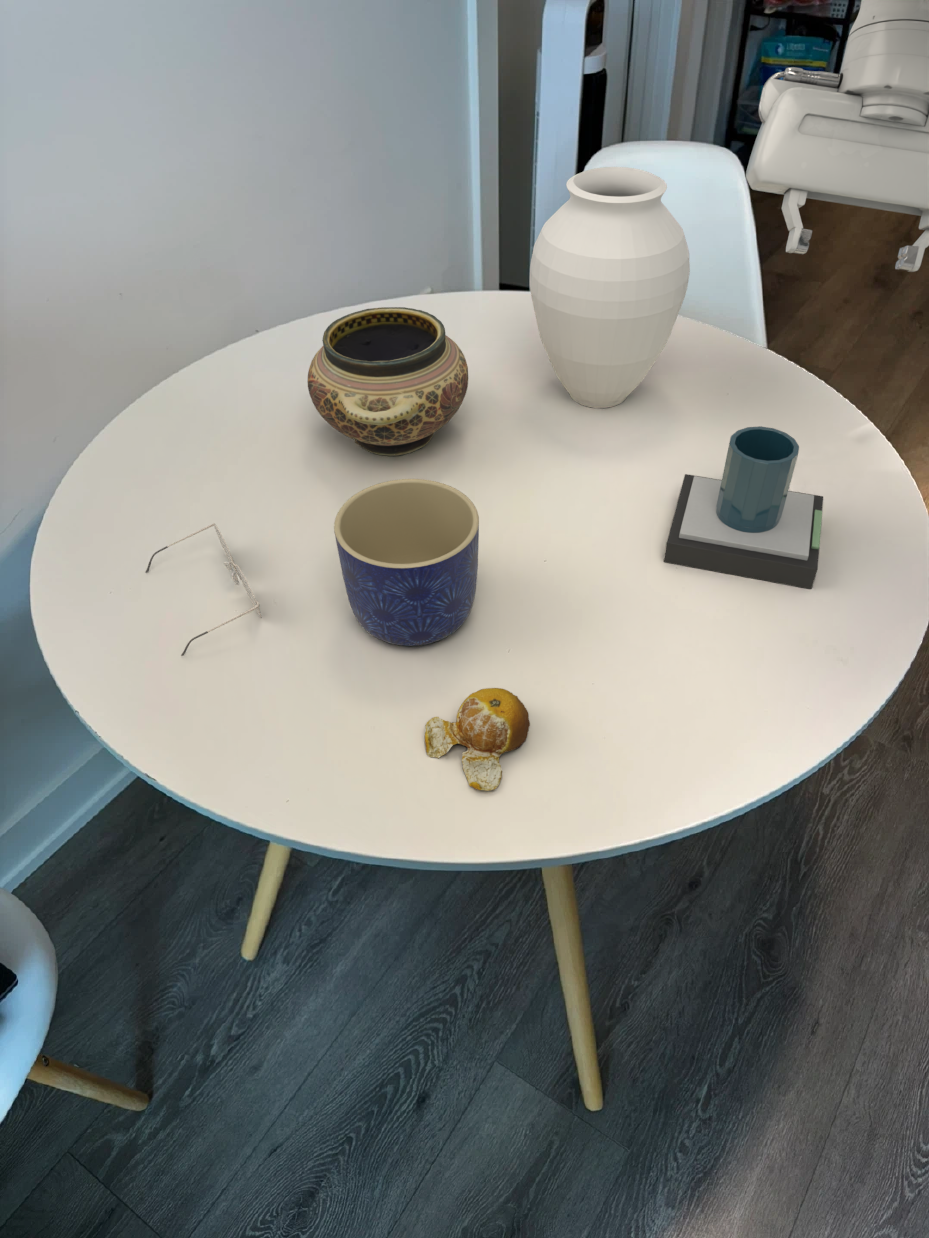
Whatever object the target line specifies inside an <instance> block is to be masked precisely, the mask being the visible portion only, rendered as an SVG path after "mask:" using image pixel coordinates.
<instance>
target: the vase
mask: <svg viewBox="0 0 929 1238" xmlns="http://www.w3.org/2000/svg"><path fill="white" fill-rule="evenodd" d="M565 183H566V184H565V186H566V189H567V190H568V193H569V198H568V200H567V201H565V202H564V203H563V204H562V205H561V206H560V207H559V208H558V209H557V210H556V211H555V212H554V213H553V214H552V215H550V217H549V218H548V219H547V220H546V221H545V222H544V224H543V226H542V228H541V229H540V231H539V234H538V236H537V237H536V240H535V242H534V245H533V249H532V254H531V257H530V258H531V259H530V264H529V265H530V266H529V291H530V295H531V301H532V306H533V310H534V316H535V320H536V321H535V322H536V326H537V330H538V333H539V337H540V340H541V343H542V345H543V347H544V350H545V353H546V355H547V357H548V360H549V362H550V365H551V366H552V368H553V370H554V373H555V376H556V377H557V379H558V380H559V382H560V383H561V385H562V387H564V389H565V390H566V392H568V393H569V396H570V398H571V399H572V400H573V401H574V402H575V403H577V404H579V405H581V406H584V407H588V408H593V409H594V408H595V409H605V408H606V409H608V408H613V407H615V406H618V405H620V404H623V402H624V401H626V399H627V397H628V396H629V395H630V394H632V393H633V392H634V391H635V390H636V389H637V387H638V386H639V385H640V384H641V383H642V382H643V380H644V379H645V378H646V376H647V374H648V373H649V371H650V370H651V369H652V367H653V366H654V364H655V363H656V361H657V359H658V358H659V357H660V354H661V353H662V351H663V350H664V348H665V347H666V345H667V344H668V341H669V338H670V336H671V333H672V331H673V329H674V326H675V323H676V321H677V318H678V316H679V313H680V311H681V309H682V305H683V303H684V300H685V298H686V295H687V291H688V287H689V280H690V273H691V268H690V267H691V265H690V264H691V263H690V262H691V261H690V249H689V246H688V243H687V238H686V236H685V232H684V229H683V227H682V225H680V223H679V222H678V221H677V219H676V218H675V217H674V215H673V214H672V213H671V212H670V210H669V209H668V208H667V206H666V205H665V204H664V203H663V202H662V197H663V195H664V194H665V192H666V191H667V188H668V185H667V183H666V181H665V180H664V179H662V177H660V176H658V175H656V174H653V173H652V172H649V171H647V170H644V169H640V168H634V167H626V166H603V167H596V168H591V169H587V170H584V171H582V172H579V173H577V174H575V175H573V176H571V177H570V178H569V179H567V181H566V182H565Z"/></svg>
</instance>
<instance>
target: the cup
mask: <svg viewBox="0 0 929 1238" xmlns="http://www.w3.org/2000/svg"><path fill="white" fill-rule="evenodd" d="M799 451H800V446H799V444H798V442H797V441H796V439H795V438H794V437H792V435H790V434H788V433H786V432H785V431H782V430H780V429H777V428H773V427H767V426H747V427H744V428H741V429H738V430H736V431H735V432H734V433H733V434H732V435H730V439H729V443H728V448H727V453H726V458H725V462H724V467H723V472H722V477H721V480H722V481H721V486H720V491H719V496H718V501H717V506H716V514H717V516H718V518H719V519H720V520H721V521H722V522H723V523H724V524H725V525H727V526H728V527H730V528H732V529H735V530H738V531H742V532H748V533H760V532H766V531H769V530H771V529H773V528H774V527H776V526H777V525H778V523H779V521H780V518H781V516H782V512H783V509H784V505H785V501H786V497H787V494H788V491H790V486H791V483H792V478H793V475H794V472H795V467H796V464H797V460H798V456H799Z"/></svg>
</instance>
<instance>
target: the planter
mask: <svg viewBox="0 0 929 1238" xmlns="http://www.w3.org/2000/svg"><path fill="white" fill-rule="evenodd" d="M333 524H334V525H333V532H334V537H335V542H336V548H337V552H338V559H339V564H340V568H341V574H342V579H343V583H344V587H345V592H346V595H347V598H348V602H349V605H350V607H351V610H352V613H353V615H354V617H355V619H356V621H357V622H358V623H359V625H360V626H361V627H362V628H363V629H364V630H365V631H366V632H368V633H369V634H370V635H371V636H373V637H374V638H377V639H379V640H380V641H383V642H386V643H389V644H392V645H398V646H405V647H406V646H410V647H412V646H414V647H415V646H423V645H428V644H432V643H436V642H438V641H440V640H443V639H446V638H447V637H449V636H450V635H452V634H453V633H455V631H457V630H458V629H459V628H460V627H461V626H463V624H464V623H465V621H466V620H467V619H468V617H469V615H470V613H471V611H472V608H473V605H474V602H475V597H476V591H477V582H478V567H479V542H480V541H479V539H480V538H479V537H480V535H479V533H480V532H479V531H480V516H479V512H478V510H477V507H476V505H475V504H474V503H473V501H472V500H471V499H470V498H469V497H468V496H467V495H466V494H465V493H463V492H462V491H460V490H459V489H457V488H456V487H453V486H452V485H449V484H446V483H443V482H440V481H436V480H435V481H434V480H430V479H423V478H402V479H401V478H400V479H393V480H388V481H383V482H380V483H376V484H374V485H373V484H372V485H371V486H368V487H366V488H364V489H362V490H360V491H358V492H357V493H355V494H354V495H352V496H351V497H350V498H348V499H346V501H345V502H344V503H343V504H342V506H341V507H340V508H339V510H338V511H337V514H336V516H335V519H334V523H333Z"/></svg>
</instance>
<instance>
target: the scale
mask: <svg viewBox="0 0 929 1238" xmlns="http://www.w3.org/2000/svg"><path fill="white" fill-rule="evenodd" d="M721 481H722V479H718V478H712V477H707V476H700V475H694V474H687V473H685V474H684V476H683V480H682V483H681V488H680V490H679V495H678V499H677V503H676V505H675V509H674V514H673V517H672V520H671V525H670V528H669V533H668V536H667V540H666V544H665V550H664V552H665V553H664V557H663V563H668V564H673V565H678V566H683V567H684V566H685V567H689V568H694V569H700V570H704V571H711V572H716V573H721V574H726V575H730V576H731V575H732V576H736V577H737V576H738V577H743V578H748V579H754V580H758V581H759V580H760V581H764V582H770V583H775V584H781V585H785V586H786V585H787V586H790V587H798V588H801V589H802V588H803V589H807V590H812V588H813V585H814V583H815V580H816V576H817V573H818V568H819V558H820V557H819V556H820V547H821V546H820V544H821V533H822V532H821V531H822V521H823V520H822V519H823V518H822V517H823V507H824V506H823V504H824V496H823V495H819V494H818V495H817V494H811V493H806V492H799V491H792V490H788V494H787V497H786V501H785V505H784V509H783V512H782V516H781V518H780V521H779V523H778V525H777V526H776V527H774V528H773V529H771V530H769V531H766V532H760V533H748V532H742V531H738V530H735V529H732V528H730V527H728V526H727V525H725V524H724V523H723V522H722V521H721V520H720V519H719V518H718V516H717V514H716V506H717V501H718V496H719V491H720V486H721Z"/></svg>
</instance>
